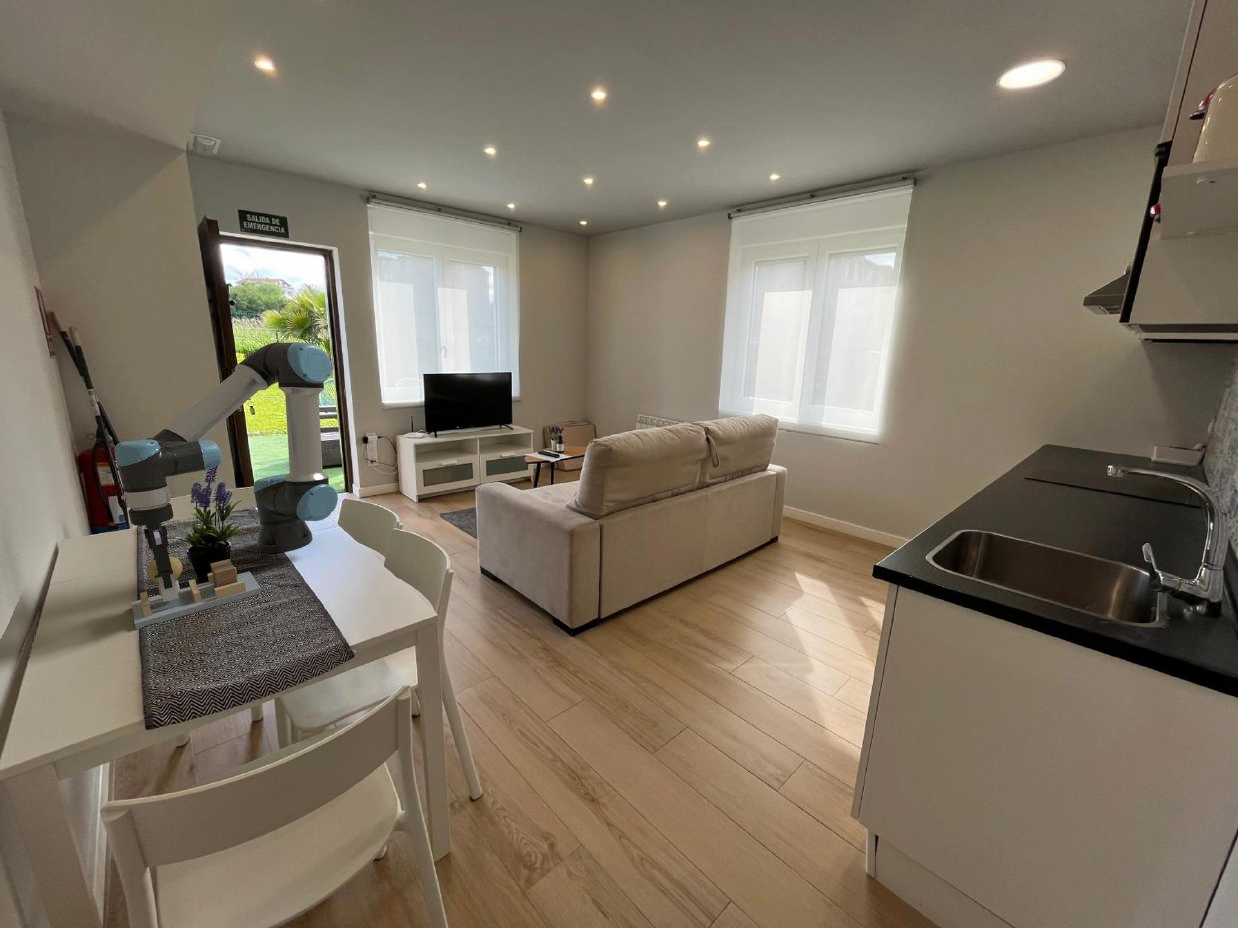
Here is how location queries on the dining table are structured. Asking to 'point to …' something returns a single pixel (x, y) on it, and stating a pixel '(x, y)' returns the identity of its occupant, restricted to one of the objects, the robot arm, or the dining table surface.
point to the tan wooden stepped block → (223, 573)
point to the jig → (192, 599)
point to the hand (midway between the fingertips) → (169, 594)
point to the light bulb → (176, 569)
